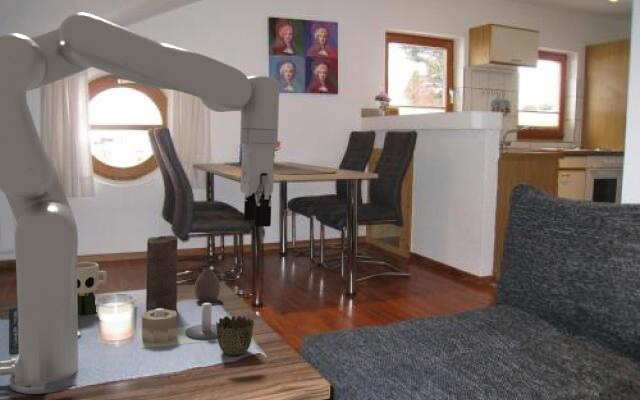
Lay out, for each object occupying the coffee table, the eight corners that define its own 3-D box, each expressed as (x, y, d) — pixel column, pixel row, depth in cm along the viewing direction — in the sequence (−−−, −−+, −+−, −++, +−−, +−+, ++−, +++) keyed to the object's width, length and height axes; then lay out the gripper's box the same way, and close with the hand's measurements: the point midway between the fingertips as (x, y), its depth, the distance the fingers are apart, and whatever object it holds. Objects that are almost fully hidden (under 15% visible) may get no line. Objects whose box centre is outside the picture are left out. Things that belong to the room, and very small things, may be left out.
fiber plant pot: (245, 368, 107) (246, 328, 106) (209, 364, 108) (210, 325, 107) (257, 354, 114) (258, 317, 113) (224, 351, 115) (224, 313, 114)
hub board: (141, 355, 112) (141, 316, 111) (138, 336, 122) (138, 301, 121) (231, 346, 118) (232, 309, 117) (222, 329, 128) (222, 296, 128)
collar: (143, 344, 114) (143, 320, 113) (141, 333, 120) (141, 310, 120) (178, 341, 116) (178, 317, 116) (174, 330, 123) (174, 308, 122)
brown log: (178, 320, 134) (179, 238, 132) (147, 322, 132) (147, 239, 130) (174, 310, 141) (175, 233, 139) (144, 313, 139) (145, 234, 137)
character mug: (57, 324, 129) (57, 269, 127) (59, 315, 135) (58, 263, 134) (107, 319, 133) (107, 266, 132) (106, 311, 139) (106, 260, 138)
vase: (193, 298, 154) (193, 267, 153) (218, 296, 156) (218, 266, 155) (195, 305, 147) (195, 272, 146) (221, 303, 149) (222, 271, 148)
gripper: (232, 138, 118) (230, 217, 120) (250, 138, 102) (247, 229, 104) (266, 139, 121) (264, 217, 122) (288, 139, 105) (286, 229, 106)
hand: (256, 222), depth 113 cm, fingers open, 9 cm apart
